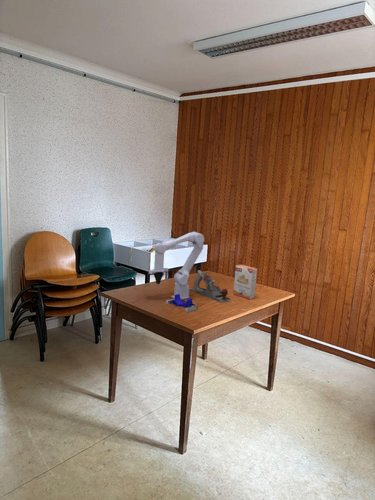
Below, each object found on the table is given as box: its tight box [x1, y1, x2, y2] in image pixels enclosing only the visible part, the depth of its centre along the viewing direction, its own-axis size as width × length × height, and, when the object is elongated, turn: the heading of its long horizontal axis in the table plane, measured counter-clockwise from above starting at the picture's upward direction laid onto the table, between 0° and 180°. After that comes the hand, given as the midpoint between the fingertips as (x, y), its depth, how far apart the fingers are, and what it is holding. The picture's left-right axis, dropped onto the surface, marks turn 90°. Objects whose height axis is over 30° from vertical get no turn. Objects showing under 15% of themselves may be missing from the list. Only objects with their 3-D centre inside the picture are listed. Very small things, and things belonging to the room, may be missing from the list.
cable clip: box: [171, 294, 193, 309], centre depth 222 cm, size 12×4×6 cm, turn 46°
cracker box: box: [233, 264, 258, 300], centre depth 249 cm, size 14×6×21 cm, turn 45°
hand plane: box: [189, 269, 232, 304], centre depth 248 cm, size 9×33×15 cm, turn 40°
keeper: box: [165, 298, 199, 313], centre depth 220 cm, size 9×18×3 cm, turn 46°
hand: (157, 283), depth 231 cm, fingers closed
